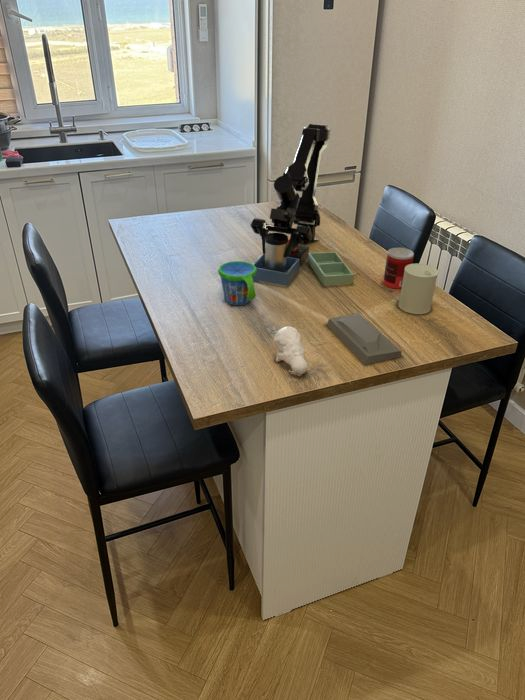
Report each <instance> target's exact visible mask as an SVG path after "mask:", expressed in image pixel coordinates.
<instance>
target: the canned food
mask: <svg viewBox="0 0 525 700" xmlns="http://www.w3.org/2000/svg"><path fill="white" fill-rule="evenodd" d="M414 257H415V253H414V251H413V250H411V249H409V248H406V247H392V248H389V249H388V250H387V255H386V262H385V267H384V274H383V281H382V283H383V286H384V287H386V288H388V289H391V290H396V291H397V290H398V291H401V289H402V283H403V277H404V271H405V267H406V266H407V265H409V264H414Z"/></svg>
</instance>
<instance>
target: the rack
mask: <svg viewBox="0 0 525 700" xmlns="http://www.w3.org/2000/svg"><path fill="white" fill-rule="evenodd" d="M307 263H308V264H309V266H310V267H311V268H312V270H313V271H314V273H315V275H316V276H317V278H318V280H319V281H320V283H321V284H322V286H338V285H350V284H354V279H355V278H354V277H355V274H354V273H353V271H352V270H351V269H350V268H349V266H348V265H347V264H346V263H345V261H344V260H343V258H342V257H341V256H340V255H339V254H338V252H337V251H336V250H333V251H321V252H320V251H319V252H309V253H308V255H307Z"/></svg>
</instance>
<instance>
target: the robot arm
mask: <svg viewBox="0 0 525 700" xmlns="http://www.w3.org/2000/svg"><path fill="white" fill-rule="evenodd" d="M331 135H332V129H331V128H329V126H328V124H318V123H309V124H308V126H303V127H302V132H301V140H300V142H299V146H298V149H297V151H296V154H295V157H294V160H293V163H291V164H290V165H289V166H287V169H286V170H285V172H283V174H282V175H281V176H279V177H277V178H276V179H275V180H274V181H273V188H274V190H275V194H276V196H277V198H278V199H279V203H278V206H276V208H273V207H271V208H270V212H269V213H270V214H269V220H271V223H272V224H269V223H267V221H266V219H262V218H256V217H255V218H253V219H252V220H251V221H250V227H251V229H252V231H253V233H254V234H256V235H259V236H260V237H261V247H262V248H261V249H262V254H265V236H266V235H267V234H269V233H270V232H272V233H283V234H285V235H290V236H291V237H290V241H289V244H288V247H287V249H286V252H285V258H287V257H288V255H289V254H290V253H291V252H292V251H293V249H294V248H295V247H296V246H297V245H301V244H303V245H307V244H308V245H309V244H312V243H314V242H317V241H319V240H318V238H317V237H316V228H317V227H320V226H321V215H320V211H319V204H318V202H317V199H316V192H317V184H318V179H319V171H320V165H321V158H322V154H323V152H324V150H325V149H326V148H327V147H328V145H329V144H328V143H329V141H330V140H331ZM298 192H299V193H300V192H301V195H300V194H299V193H298ZM293 224H294V225H296V228H295V227H293Z"/></svg>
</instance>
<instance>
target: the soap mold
mask: <svg viewBox="0 0 525 700" xmlns="http://www.w3.org/2000/svg"><path fill="white" fill-rule="evenodd" d="M326 327H327V328H328V329H329V330H330V331H331V332H332V333H333V334H334V335H335V336H336V337H337V338H338V339H339V340H340V341H341V342H342V343H343V344H344V346H346V347H347V348H348V349H349V350H350V351H351V352H352V353H353V354H354V355H355V356H356V357H357V358H358V360H360V362H362V363H363V365H364V366H367V365H372V364H375V363H380V362H381V363H382V362H384V361H388V360H389V361H390V360H393V359H398V358H402V349H400V348H399V347H398V346H397V345H396V344H394V343H393V342H392V341H391V340H390V339H389V338H388V337H386V336H385V335H384V334H383V333H382V332H381V331H380V330H378V329H377V327H375V326H374V325H373V324H372V323H371V322H369V321H368V320H367V319H366V318H365V317H363V316H362V315H361V314H360V313H352V314H345V315H341V316H335V317H331V318H328V320H327V324H326Z"/></svg>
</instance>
